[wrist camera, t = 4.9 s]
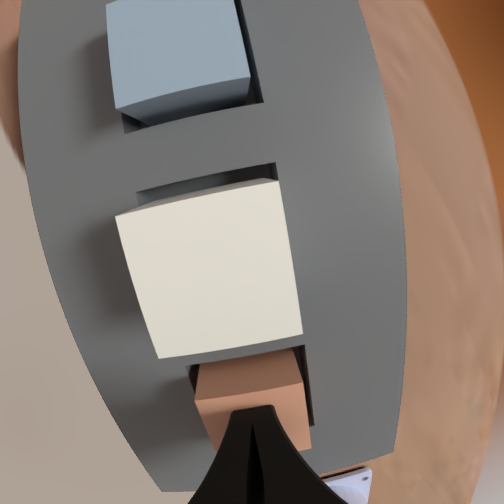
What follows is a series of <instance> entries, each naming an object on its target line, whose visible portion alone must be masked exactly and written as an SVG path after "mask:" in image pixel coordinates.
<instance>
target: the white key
mask: <svg viewBox="0 0 504 504" xmlns="http://www.w3.org/2000/svg"><path fill="white" fill-rule="evenodd" d="M115 219H116V223H117V227H118V231H119V235H120V239H121V243H122V246H123V250H124V254H125V257H126V261H127V265H128V268H129V271H130V275H131V278H132V282H133V285H134V288H135V292H136V295H137V298H138V301H139V304H140V307H141V310H142V313H143V316H144V319H145V322H146V325H147V328H148V331H149V334H150V337H151V339H152V342H153V345H154V348H155V350H156V353H157V356H158V358H159V359H161V358H169V357H176V356H184V355H191V354H197V353H204V352H210V351H217V350H223V349H229V348H234V347H240V346H246V345H251V344H257V343H262V342H267V341H272V340H277V339H282V338H287V337H291V336H296V335H301V334H303V330H302V323H301V316H300V309H299V302H298V295H297V288H296V282H295V275H294V269H293V262H292V256H291V250H290V244H289V238H288V232H287V226H286V220H285V214H284V208H283V202H282V197H281V191H280V185H279V181H276V180H272V179H267V178H258V179H253V180H248V181H242V182H237V183H232V184H227V185H222V186H217V187H213V188H208V189H203V190H198V191H194V192H189V193H185V194H180V195H176V196H172V197H167V198H163V199H159V200H155V201H152V202H150V203H147V204H144V205H142V206H139V207H137V208H134V209H132V210H129V211H127V212H125V213H122V214H120V215H117V216H115Z"/></svg>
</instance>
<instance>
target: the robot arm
mask: <svg viewBox="0 0 504 504" xmlns="http://www.w3.org/2000/svg"><path fill="white" fill-rule="evenodd" d="M371 477H372V471H371V468H367V467H366V468H362V469H359V470H356V471H352V472H349V473H345V474H342V475H338V476H334V477H330V478H327V479H321V478H320V477H319V476H318V475H317V474H316V473H315V472H314V471H313V470H312V468H311V467H310V466H309V465H308V464H307V462H306V461H305V460H304V459H303V457H302V456H301V455H300V453H299V452H298V451H297V449H296V448H295V446H294V445H293V443H292V442H291V440H290V439H289V437H288V435H287V434H286V432H285V430H284V428H283V427H282V425H281V423H280V421H279V418H278V416H277V414H276V411H275V407H274V406H273V405H271V404H269V405H264V406H259V407H253V408H247V409H240V410H234V411H233V412H232V413H231V415H230V419H229V422H228V426H227V429H226V432H225V434H224V437H223V440H222V442H221V444H220V447H219V449H218V451H217V454H216V456H215V458H214V460H213V462H212V464H211V466H210V468H209V470H208V472H207V474H206V476H205V478H204V479H203V481H202V483H201V484H200V486H199V488H198V489H197V491H196V492H195V494H194V495H193V497H192V498H191V500H190V501H189V503H188V504H367V502H368V496H369V490H370V484H371Z"/></svg>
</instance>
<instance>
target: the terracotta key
mask: <svg viewBox="0 0 504 504" xmlns="http://www.w3.org/2000/svg"><path fill="white" fill-rule="evenodd" d="M194 401H195V403H196V406H197V408H198V411H199V413H200V416H201V418H202V421H203V423H204V426H205V428H206V430H207V433H208V435H209V438H210V440H211V442H212V445H213V447H214V449H215V451H216V454H217V451H218V449H219V447H220V444H221V442H222V440H223V437H224V434H225V432H226V429H227V426H228V422H229V419H230V415H231V413H232V412H233V411H234V410H240V409H247V408H253V407H259V406H264V405H269V404H271V405H273V406H274V407H275V411H276V414H277V416H278V418H279V421H280V423H281V425H282V427H283V428H284V430H285V432H286V434H287V435H288V437H289V439H290V440H291V442H292V443H293V445H294V446H295V448H296V449H297V451H302V450H307V449H311V448H312V447H311V439H310V431H309V423H308V415H307V407H306V400H305V392H304V385H303V380H302V377H301V374H300V371H299V368H298V365H297V362H296V358H295V355H294V352H293V349H292V347H290V348H285V349H280V350H275V351H270V352H265V353H260V354H255V355H249V356H244V357H238V358H232V359H226V360H220V361H213V362H207V363H200V367H199V373H198V380H197V387H196V393H195V400H194Z"/></svg>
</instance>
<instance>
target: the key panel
mask: <svg viewBox="0 0 504 504" xmlns="http://www.w3.org/2000/svg"><path fill="white" fill-rule="evenodd" d="M115 1H117V0H22V4H21V13H20V24H19V39H18V101H19V117H20V128H21V138H22V147H23V154H24V161H25V168H26V174H27V180H28V185H29V191H30V196H31V201H32V206H33V210H34V215H35V219H36V223H37V228H38V232H39V236H40V239H41V243H42V246H43V250H44V254H45V257H46V261H47V264H48V267H49V271H50V274H51V277H52V280H53V283H54V286H55V289H56V292H57V295H58V297H59V301H60V303H61V306H62V309H63V311H64V314H65V317H66V319H67V322H68V324H69V327H70V329H71V332H72V334H73V337H74V339H75V341H76V344H77V346H78V348H79V351H80V353H81V355H82V357H83V359H84V362H85V364H86V366H87V368H88V370H89V372H90V374H91V376H92V378H93V380H94V382H95V384H96V386H97V388H98V390H99V392H100V394H101V396H102V398H103V400H104V402H105V404H106V406H107V407H108V409H109V411H110V413H111V415H112V416H113V418H114V420H115V422H116V423H117V425H118V427H119V428H120V430H121V432H122V433H123V435H124V437H125V438H126V440H127V442H128V443H129V444H130V446H131V448H132V450H133V451H134V453H135V454H136V456H137V457H138V459H139V460H140V462H141V463H142V465H143V466H144V468H145V469H146V471H147V472H148V473H149V475H150V476H151V477H152V479H153V480H154V482H155V483H156V485H157V486H158V487H159V489H160V490H161V491H162V492H184V491H197V489H198V488H199V486H200V484H201V483H202V481H203V479H204V478H205V476H206V474H207V472H208V470H209V468H210V466H211V464H212V462H213V460H214V458H215V456H216V451H215V449H214V447H213V445H212V442H211V440H210V438H209V435H208V433H207V430H206V428H205V426H204V423H203V421H202V418H201V416H200V413H199V411H198V408H197V406H196V403H195V401H194V400H195V393H196V387H197V380H198V373H199V367H200V363H207V362H213V361H220V360H226V359H232V358H238V357H244V356H249V355H255V354H260V353H265V352H270V351H275V350H280V349H285V348H290V347H292V349H293V352H294V355H295V358H296V362H297V365H298V368H299V371H300V374H301V377H302V380H303V385H304V392H305V400H306V407H307V415H308V423H309V431H310V439H311V447H312V448H311V449H307V450H302V451H298V452H299V453H300V455H301V456H302V457H303V459H304V460H305V461H306V462H307V464H308V465H309V466H310V467H311V468H312V470H313V471H314V472H315V473H316V474H322V473H326V472H330V471H334V470H337V469H341V468H345V467H348V466H352V465H355V464H358V463H362V462H365V461H368V460H371V459H374V458H377V457H380V456H383V455H386V454H389V453H391V452H393V450H394V445H395V439H396V433H397V426H398V419H399V412H400V404H401V396H402V386H403V375H404V363H405V347H406V324H407V269H406V245H405V229H404V217H403V206H402V196H401V187H400V179H399V171H398V164H397V157H396V151H395V144H394V139H393V133H392V127H391V122H390V117H389V112H388V107H387V102H386V98H385V93H384V89H383V85H382V81H381V77H380V73H379V69H378V65H377V61H376V57H375V54H374V50H373V47H372V43H371V40H370V37H369V33H368V30H367V27H366V24H365V21H364V18H363V15H362V12H361V9H360V6H359V3H358V1H357V0H234V5H235V9H236V13H237V17H238V22H239V26H240V31H241V35H242V40H243V44H244V49H245V53H246V58H247V62H248V67H249V72H250V76H251V77H250V83H249V88H248V94H247V99H246V105H243V106H238V107H232V108H227V109H222V110H217V111H212V112H207V113H202V114H198V115H193V116H189V117H185V118H180V119H176V120H172V121H168V122H164V123H161V124H157V125H153V126H149V125H147V124H145V123H143V122H141V121H139V120H137V119H135V118H133V117H131V116H129V115H127V114H125V113H123V112H121V111H119V110H117V109H116V107H115V100H114V93H113V85H112V76H111V67H110V57H109V46H108V34H107V18H106V4H109V3H112V2H115ZM258 178H267V179H272V180H276V181H279V185H280V191H281V197H282V202H283V208H284V214H285V220H286V226H287V232H288V238H289V244H290V250H291V256H292V262H293V269H294V275H295V282H296V288H297V295H298V302H299V309H300V316H301V323H302V330H303V334H301V335H296V336H291V337H287V338H282V339H277V340H272V341H267V342H262V343H257V344H251V345H246V346H240V347H234V348H229V349H223V350H217V351H210V352H204V353H197V354H191V355H184V356H176V357H169V358H161V359H159V358H158V356H157V353H156V350H155V348H154V345H153V342H152V339H151V337H150V334H149V331H148V328H147V325H146V322H145V319H144V316H143V313H142V310H141V307H140V304H139V301H138V298H137V295H136V292H135V288H134V285H133V282H132V278H131V275H130V271H129V268H128V265H127V261H126V257H125V254H124V250H123V246H122V243H121V239H120V235H119V231H118V227H117V223H116V219H115V216H117V215H120V214H122V213H125V212H127V211H129V210H132V209H134V208H137V207H139V206H142V205H144V204H147V203H150V202H152V201H155V200H159V199H163V198H167V197H172V196H176V195H180V194H185V193H189V192H194V191H198V190H203V189H208V188H213V187H217V186H222V185H227V184H232V183H237V182H242V181H248V180H253V179H258Z"/></svg>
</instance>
